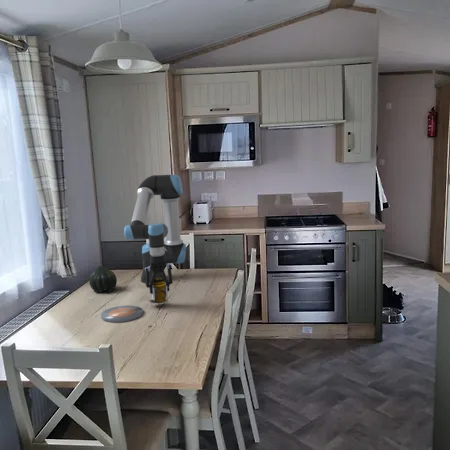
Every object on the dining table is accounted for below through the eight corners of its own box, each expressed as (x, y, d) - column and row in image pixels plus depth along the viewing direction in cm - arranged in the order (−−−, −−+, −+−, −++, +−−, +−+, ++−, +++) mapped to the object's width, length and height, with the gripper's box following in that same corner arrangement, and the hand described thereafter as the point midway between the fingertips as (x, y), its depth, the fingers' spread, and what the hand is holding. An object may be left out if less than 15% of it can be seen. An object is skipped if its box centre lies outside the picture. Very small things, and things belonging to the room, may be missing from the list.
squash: (111, 286, 250) (113, 262, 258) (84, 287, 250) (87, 263, 258) (117, 296, 262) (120, 273, 270) (92, 298, 262) (95, 274, 270)
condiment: (168, 301, 231) (167, 279, 229) (153, 305, 227) (152, 282, 224) (163, 297, 237) (161, 275, 235) (147, 301, 233) (146, 278, 230)
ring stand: (98, 311, 226) (98, 309, 226) (138, 305, 234) (138, 302, 233) (104, 325, 208) (103, 322, 208) (147, 318, 215) (146, 315, 215)
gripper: (140, 258, 221) (143, 303, 225) (177, 253, 228) (180, 297, 232) (137, 255, 227) (140, 299, 232) (173, 250, 234) (175, 293, 239)
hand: (160, 298), depth 232 cm, fingers closed on condiment, 6 cm apart
